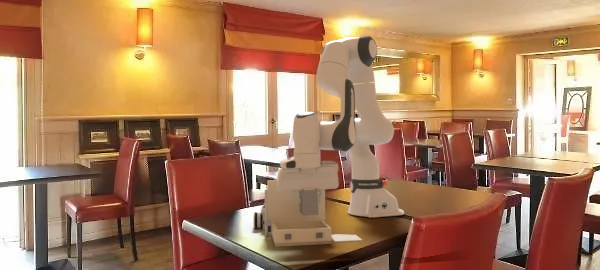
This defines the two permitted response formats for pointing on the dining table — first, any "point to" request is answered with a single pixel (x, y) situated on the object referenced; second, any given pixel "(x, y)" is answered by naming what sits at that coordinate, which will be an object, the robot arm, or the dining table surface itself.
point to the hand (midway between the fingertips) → (308, 203)
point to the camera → (260, 219)
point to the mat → (345, 238)
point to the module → (308, 202)
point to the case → (293, 220)
